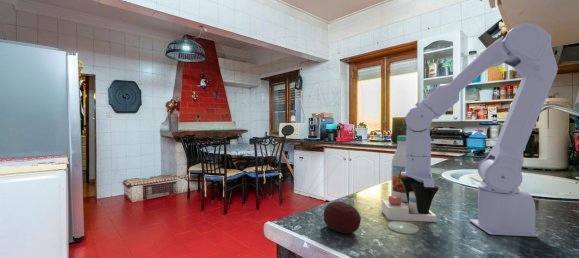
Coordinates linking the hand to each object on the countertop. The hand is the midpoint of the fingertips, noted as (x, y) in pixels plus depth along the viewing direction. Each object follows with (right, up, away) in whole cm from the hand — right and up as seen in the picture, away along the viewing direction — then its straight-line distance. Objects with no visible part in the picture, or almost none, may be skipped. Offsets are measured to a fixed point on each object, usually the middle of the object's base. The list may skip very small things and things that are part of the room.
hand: (417, 208), depth 66 cm
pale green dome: (-7, -2, -7) cm, 10 cm away
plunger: (-6, -1, +1) cm, 6 cm away
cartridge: (0, -2, 0) cm, 2 cm away
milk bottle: (+4, -2, +16) cm, 16 cm away
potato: (-21, -2, -9) cm, 23 cm away
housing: (-2, -2, 0) cm, 3 cm away
